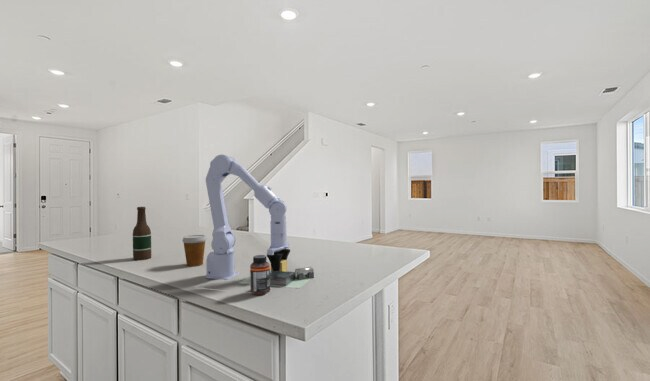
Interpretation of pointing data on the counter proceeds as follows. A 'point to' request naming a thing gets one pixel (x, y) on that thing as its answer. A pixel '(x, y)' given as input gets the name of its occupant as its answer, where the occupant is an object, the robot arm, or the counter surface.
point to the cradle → (282, 278)
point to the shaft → (304, 273)
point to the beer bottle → (141, 237)
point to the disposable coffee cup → (194, 249)
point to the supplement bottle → (260, 275)
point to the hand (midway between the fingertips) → (279, 270)
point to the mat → (293, 284)
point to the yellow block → (282, 266)
